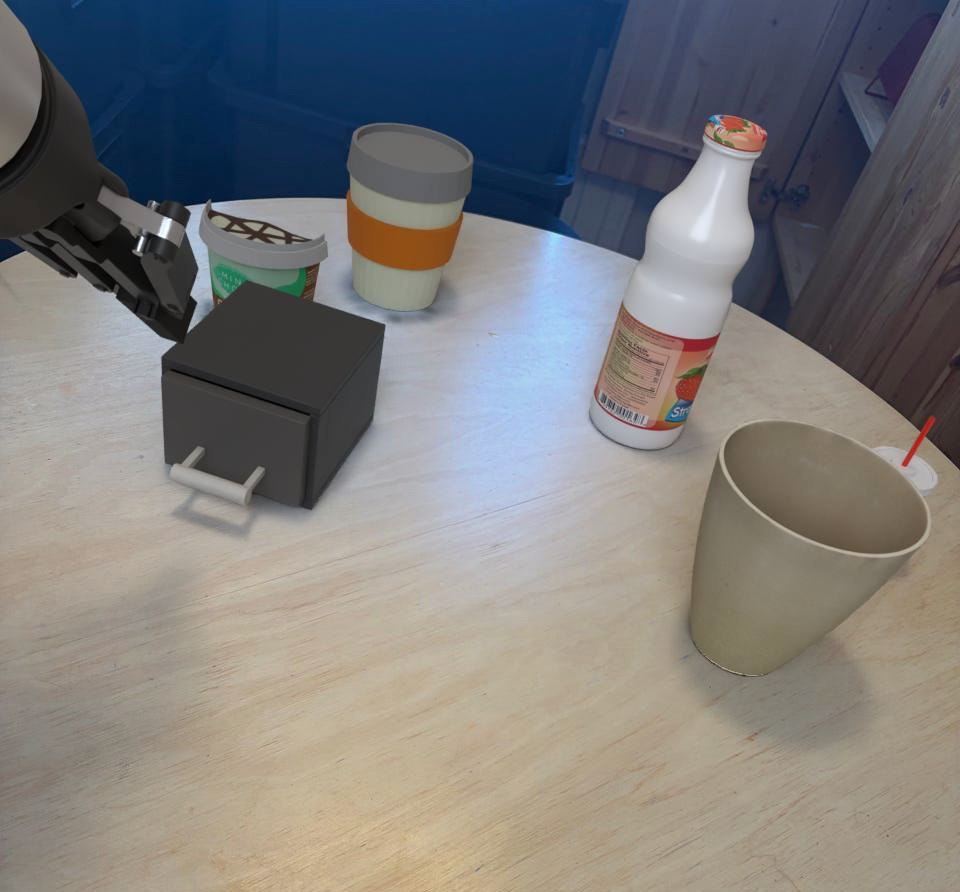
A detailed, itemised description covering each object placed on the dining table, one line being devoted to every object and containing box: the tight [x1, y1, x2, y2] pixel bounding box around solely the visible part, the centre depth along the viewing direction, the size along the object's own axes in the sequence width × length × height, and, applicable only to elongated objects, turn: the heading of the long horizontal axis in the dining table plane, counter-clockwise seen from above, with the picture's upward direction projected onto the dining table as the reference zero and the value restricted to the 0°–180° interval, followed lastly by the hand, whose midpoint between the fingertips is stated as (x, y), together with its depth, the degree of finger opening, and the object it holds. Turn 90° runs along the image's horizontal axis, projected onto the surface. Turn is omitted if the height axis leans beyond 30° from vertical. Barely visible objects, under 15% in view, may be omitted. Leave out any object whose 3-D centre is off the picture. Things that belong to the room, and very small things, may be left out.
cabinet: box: [160, 280, 387, 511], centre depth 81 cm, size 15×13×10 cm
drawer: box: [160, 370, 311, 508], centre depth 78 cm, size 18×11×8 cm, turn 165°
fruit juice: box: [589, 114, 768, 451], centre depth 87 cm, size 9×9×28 cm
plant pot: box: [690, 417, 933, 675], centre depth 72 cm, size 15×15×16 cm
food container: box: [198, 199, 329, 309], centre depth 92 cm, size 12×6×10 cm, turn 76°
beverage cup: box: [872, 415, 938, 498], centre depth 85 cm, size 6×6×14 cm
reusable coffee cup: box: [346, 122, 474, 312], centre depth 102 cm, size 13×13×15 cm
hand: (178, 319), depth 60 cm, fingers closed
